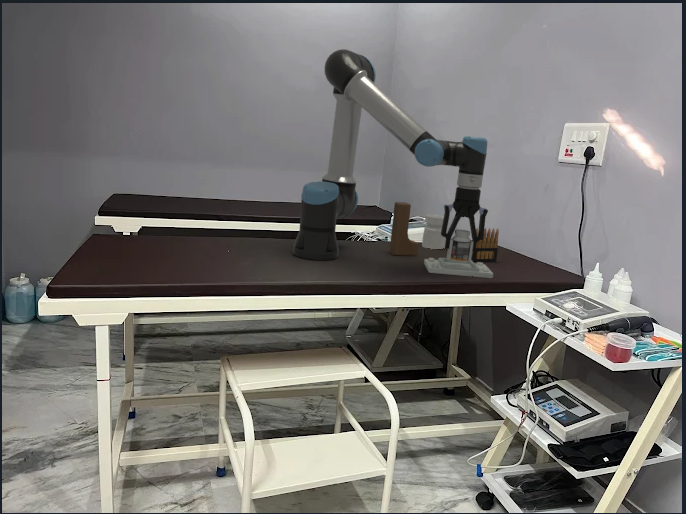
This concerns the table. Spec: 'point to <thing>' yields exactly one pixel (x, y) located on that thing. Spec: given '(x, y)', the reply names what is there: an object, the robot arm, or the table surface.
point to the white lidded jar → (433, 232)
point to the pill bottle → (460, 246)
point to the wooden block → (402, 232)
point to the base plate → (457, 268)
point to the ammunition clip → (486, 247)
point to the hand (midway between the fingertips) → (458, 259)
